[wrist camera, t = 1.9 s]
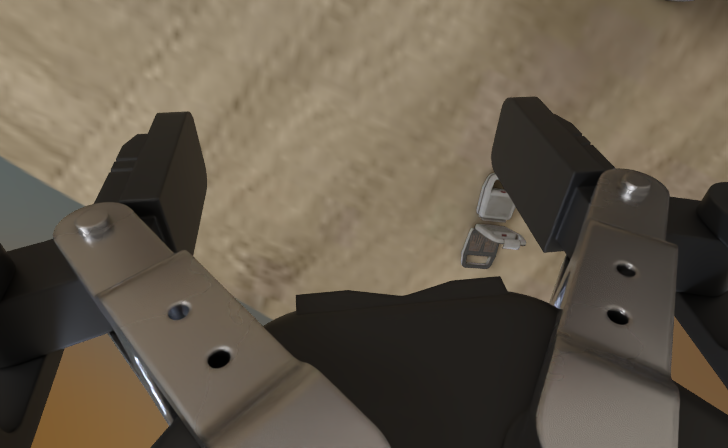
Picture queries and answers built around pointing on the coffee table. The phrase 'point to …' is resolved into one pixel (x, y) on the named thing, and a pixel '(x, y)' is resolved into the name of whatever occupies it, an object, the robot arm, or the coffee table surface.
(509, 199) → the strap clip
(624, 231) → the robot arm
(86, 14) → the coffee table surface
